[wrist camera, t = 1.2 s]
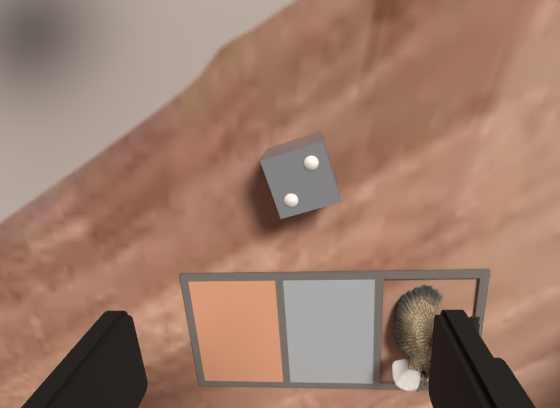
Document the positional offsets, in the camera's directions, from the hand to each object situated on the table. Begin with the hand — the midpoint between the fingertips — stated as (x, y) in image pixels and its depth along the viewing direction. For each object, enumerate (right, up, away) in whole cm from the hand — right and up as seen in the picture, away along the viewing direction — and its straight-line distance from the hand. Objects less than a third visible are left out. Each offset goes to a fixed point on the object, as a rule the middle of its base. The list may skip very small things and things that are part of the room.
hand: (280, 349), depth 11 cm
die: (+2, +8, +22) cm, 23 cm away
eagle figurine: (+15, -8, +27) cm, 31 cm away
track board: (+5, -9, +28) cm, 30 cm away
